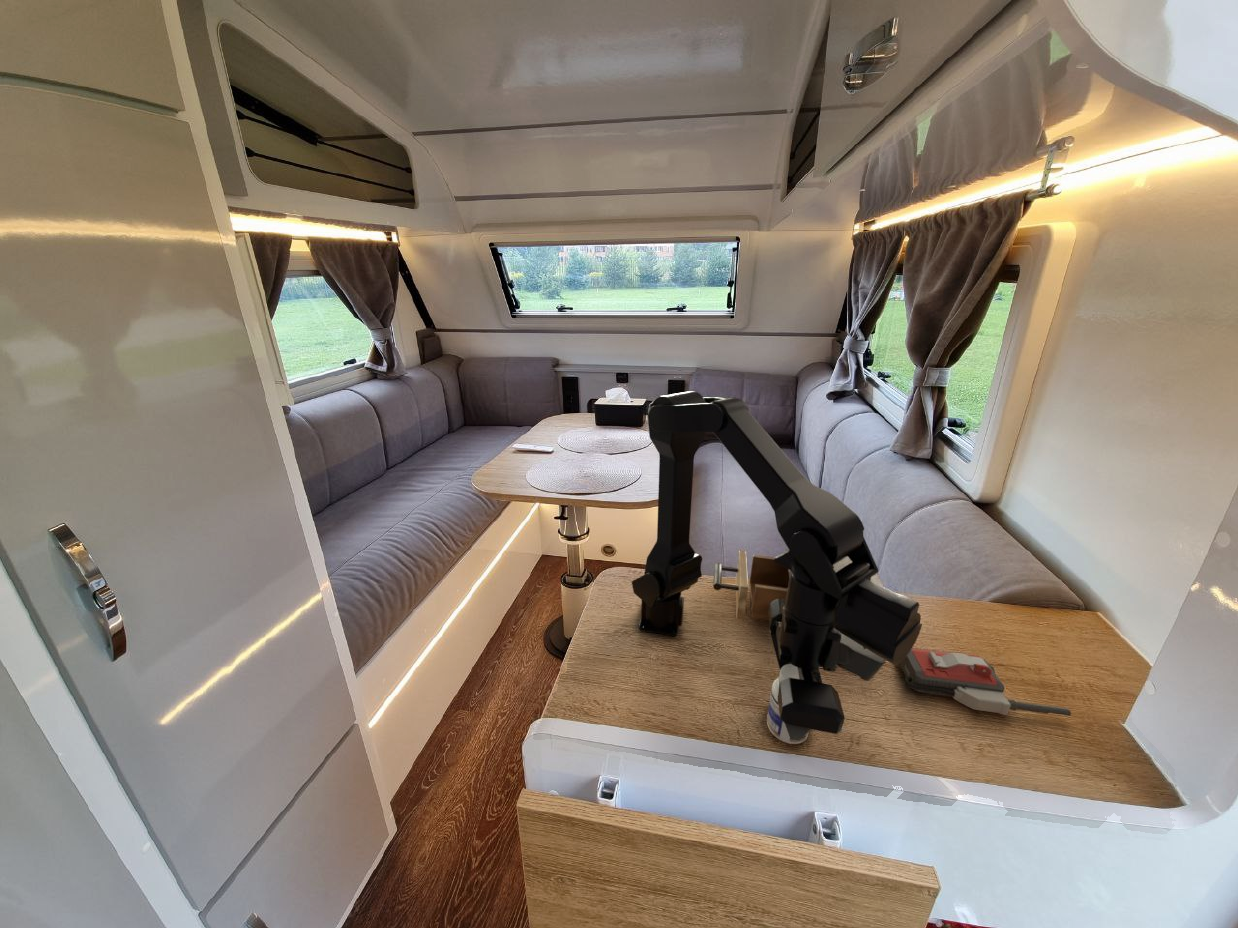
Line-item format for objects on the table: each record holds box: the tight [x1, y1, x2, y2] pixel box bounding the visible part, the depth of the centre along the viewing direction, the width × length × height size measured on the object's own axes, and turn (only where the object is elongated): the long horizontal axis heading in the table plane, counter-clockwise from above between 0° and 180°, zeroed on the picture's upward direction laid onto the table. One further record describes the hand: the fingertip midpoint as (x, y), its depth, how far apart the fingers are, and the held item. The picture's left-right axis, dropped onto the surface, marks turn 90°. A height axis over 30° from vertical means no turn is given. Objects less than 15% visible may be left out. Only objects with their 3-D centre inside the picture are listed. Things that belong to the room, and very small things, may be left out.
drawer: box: [712, 549, 789, 621], centre depth 83 cm, size 18×11×7 cm, turn 78°
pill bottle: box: [766, 664, 810, 745], centre depth 60 cm, size 5×5×9 cm
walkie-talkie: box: [899, 647, 1072, 716], centre depth 67 cm, size 9×4×20 cm
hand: (790, 707), depth 61 cm, fingers open, 9 cm apart
